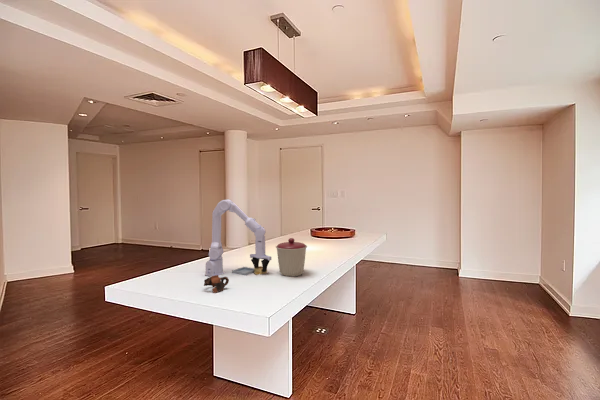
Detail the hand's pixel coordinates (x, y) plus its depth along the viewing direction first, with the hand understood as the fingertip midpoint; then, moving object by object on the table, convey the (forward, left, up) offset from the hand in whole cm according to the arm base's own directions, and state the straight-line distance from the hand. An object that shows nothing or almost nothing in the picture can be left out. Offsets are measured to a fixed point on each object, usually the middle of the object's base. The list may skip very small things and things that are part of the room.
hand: (260, 271), depth 189 cm
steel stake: (0, 0, -2) cm, 2 cm away
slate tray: (-3, +10, -2) cm, 10 cm away
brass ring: (0, 0, -1) cm, 1 cm away
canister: (+8, -16, -2) cm, 18 cm away
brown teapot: (-34, 0, -2) cm, 34 cm away
